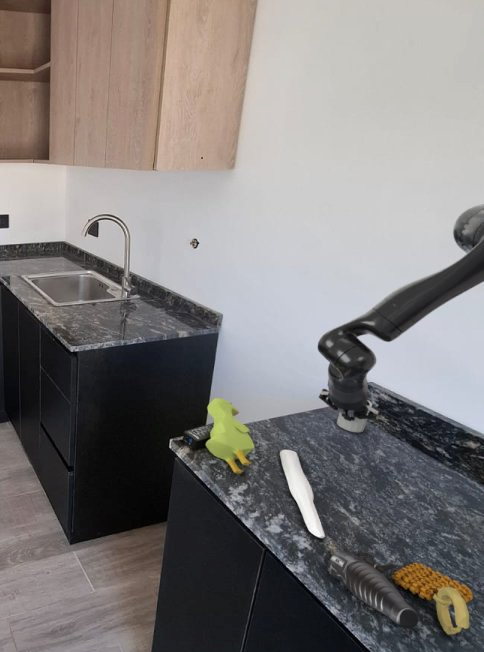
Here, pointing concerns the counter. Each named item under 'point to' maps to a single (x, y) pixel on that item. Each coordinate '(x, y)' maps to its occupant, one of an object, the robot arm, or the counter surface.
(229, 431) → the toy
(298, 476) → the white long flat piece
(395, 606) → the ribbed torch
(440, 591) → the ornament
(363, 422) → the pot
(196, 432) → the multiport hub
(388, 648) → the counter surface
